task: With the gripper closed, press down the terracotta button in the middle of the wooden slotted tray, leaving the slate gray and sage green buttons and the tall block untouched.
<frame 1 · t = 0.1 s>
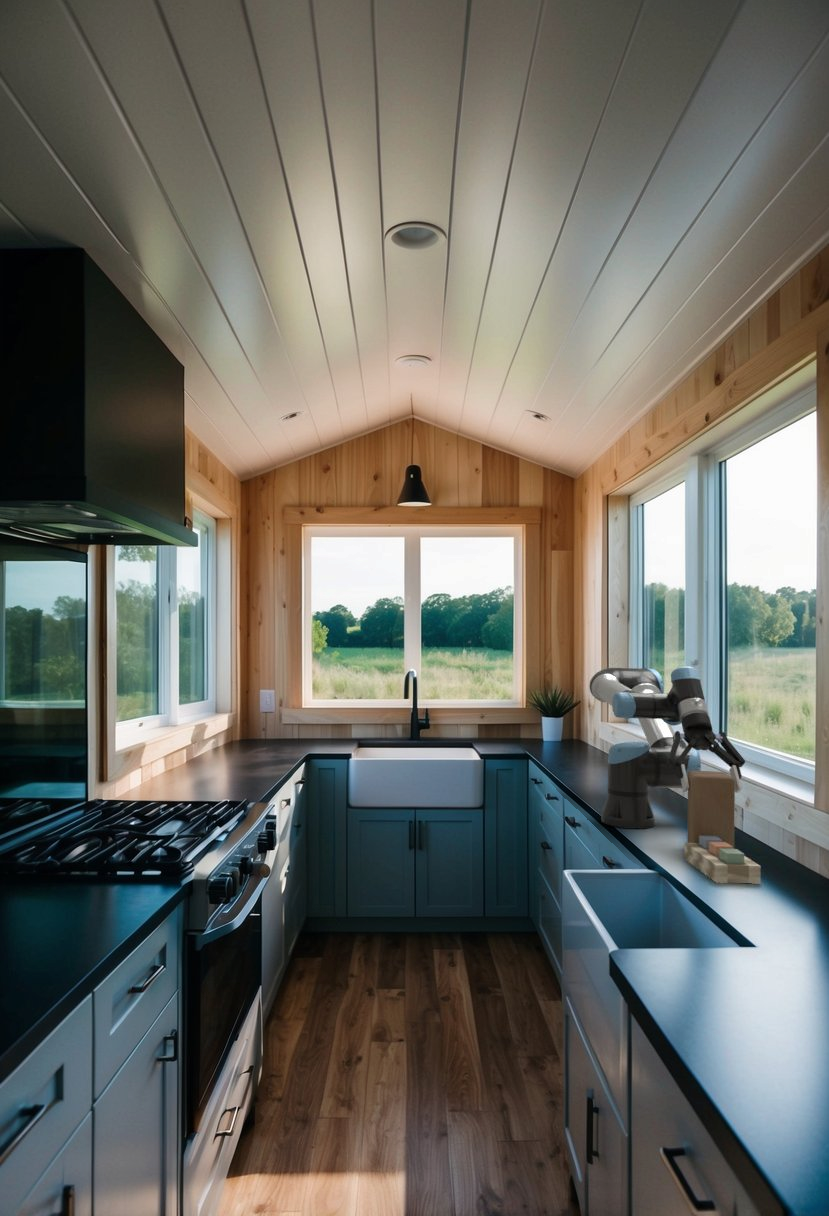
hand: (712, 790, 202), 15 cm above the counter, tool tilted 35°, fingers open, 13 cm apart
green button: (731, 860, 177), point 4 cm above the counter, slide at 0.0 cm
wooden slotted tray: (720, 871, 183), on the counter
block: (710, 853, 199), on the counter
slate gray button: (710, 846, 189), point 4 cm above the counter, slide at 0.0 cm
terracotta button: (720, 852, 183), point 4 cm above the counter, slide at 0.0 cm
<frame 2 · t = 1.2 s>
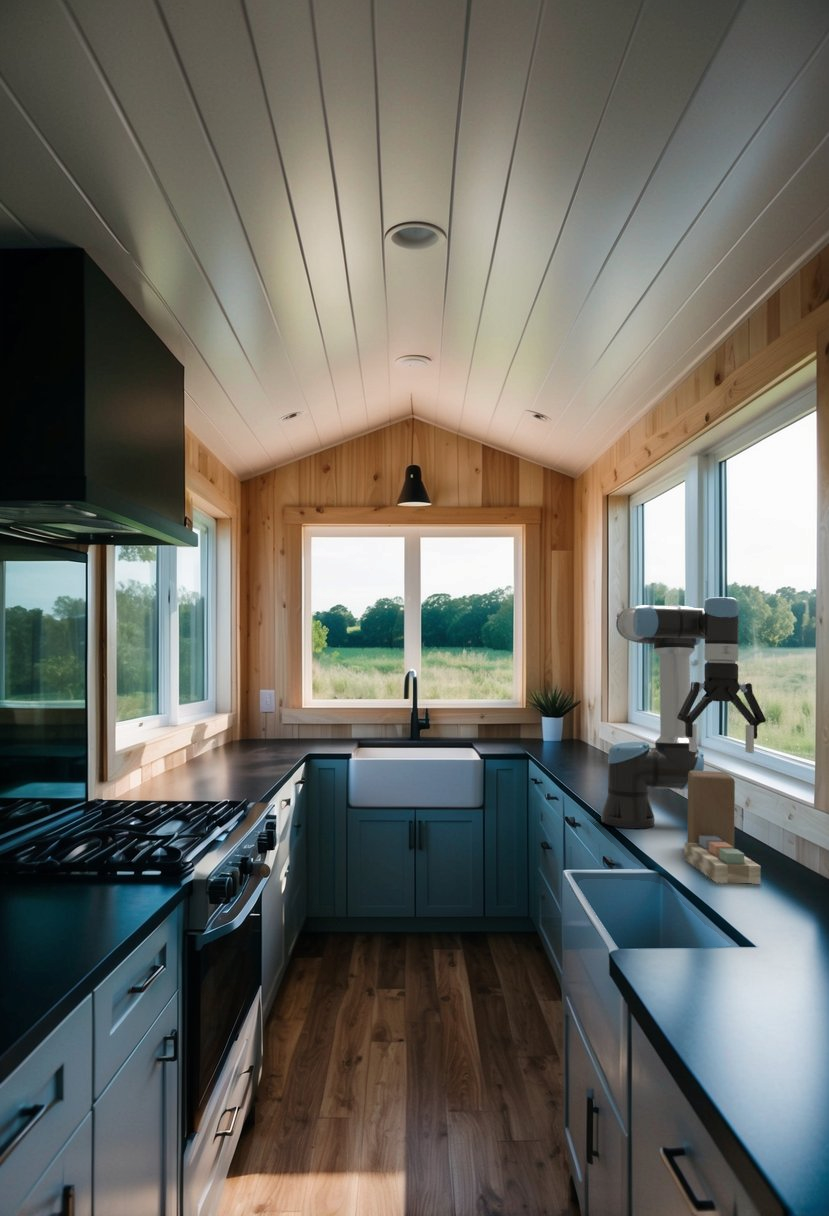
hand: (721, 752, 185), 28 cm above the counter, tool pointing down, fingers open, 13 cm apart
nothing on the counter moved.
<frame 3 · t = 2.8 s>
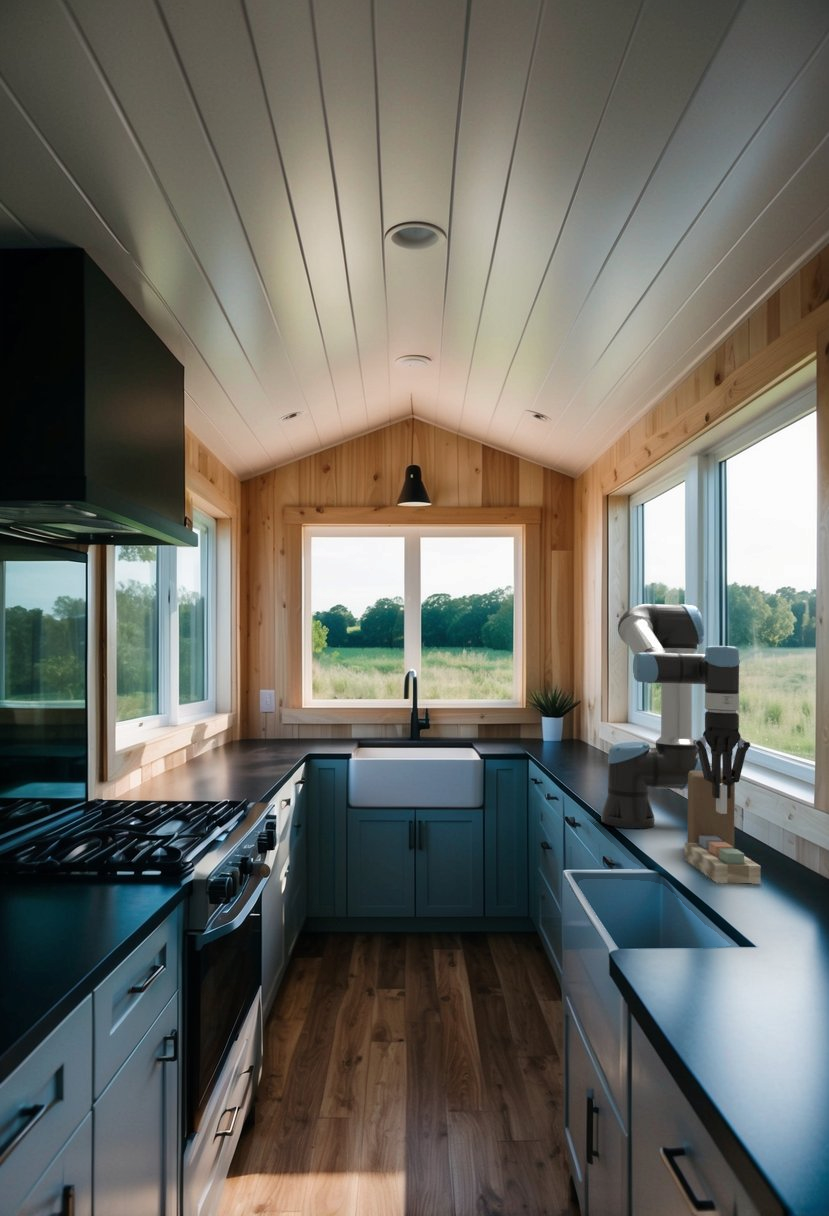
hand: (721, 812, 183), 14 cm above the counter, tool pointing down, fingers closed
nothing on the counter moved.
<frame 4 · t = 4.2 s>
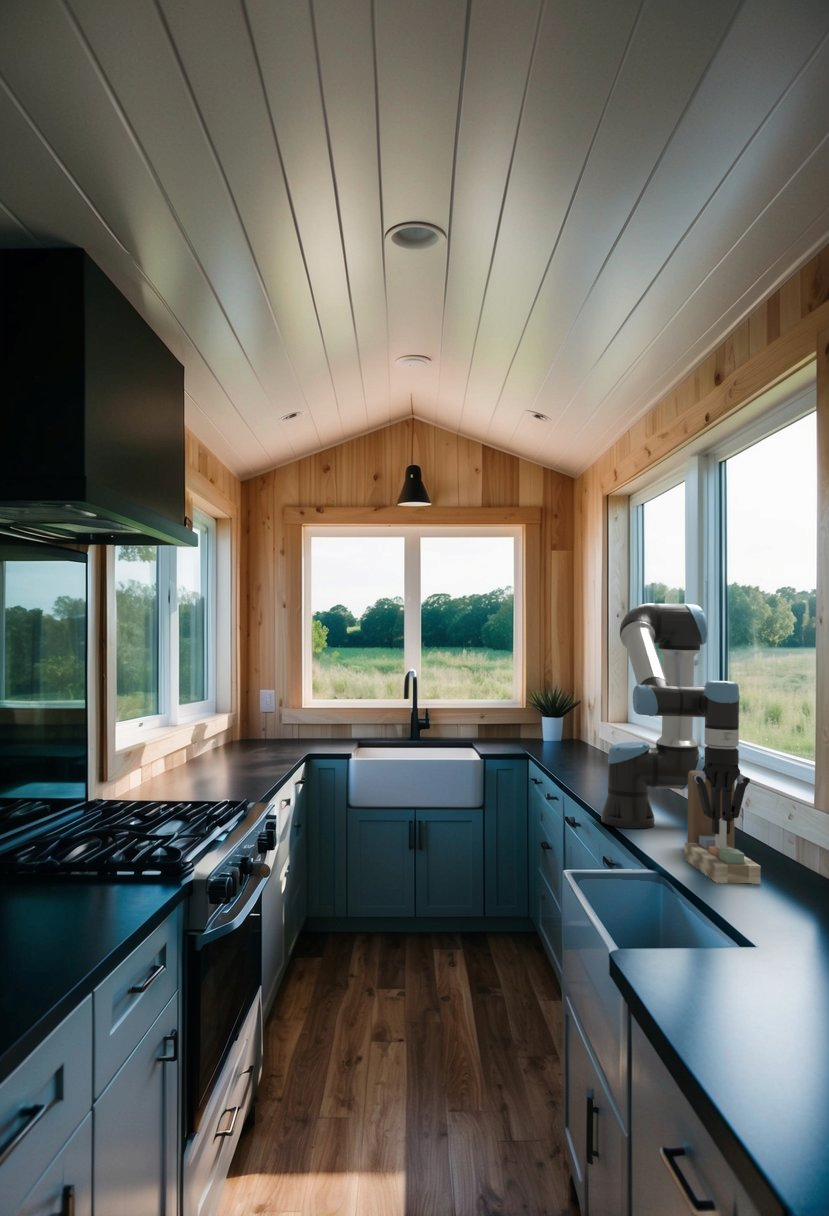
hand: (720, 847, 183), 5 cm above the counter, tool pointing down, fingers closed
terracotta button: (720, 857, 183), point 3 cm above the counter, slide at 1.1 cm, touching gripper
everything else where it was.
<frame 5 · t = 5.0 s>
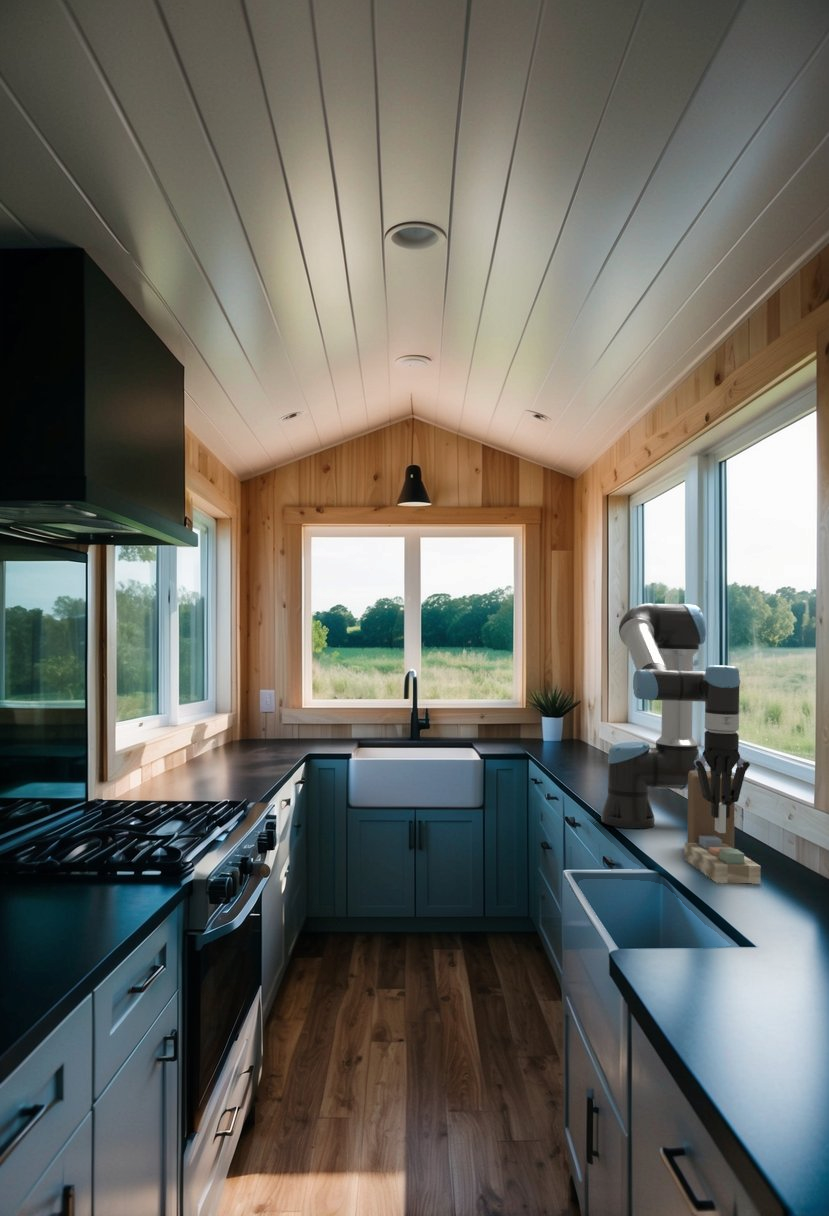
hand: (720, 831, 184), 9 cm above the counter, tool pointing down, fingers closed
terracotta button: (720, 858, 183), point 3 cm above the counter, slide at 1.2 cm
everything else where it was.
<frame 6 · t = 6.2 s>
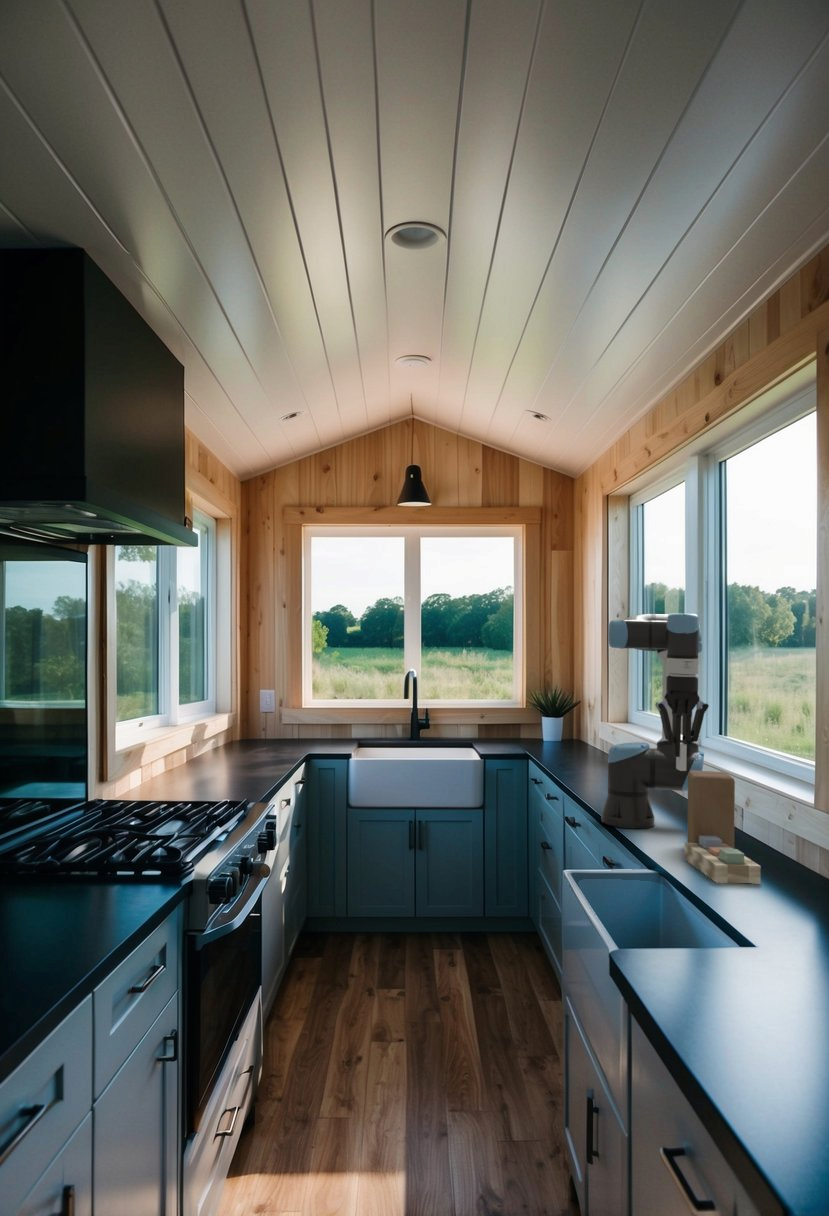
hand: (681, 769, 195), 22 cm above the counter, tool pointing down, fingers closed
nothing on the counter moved.
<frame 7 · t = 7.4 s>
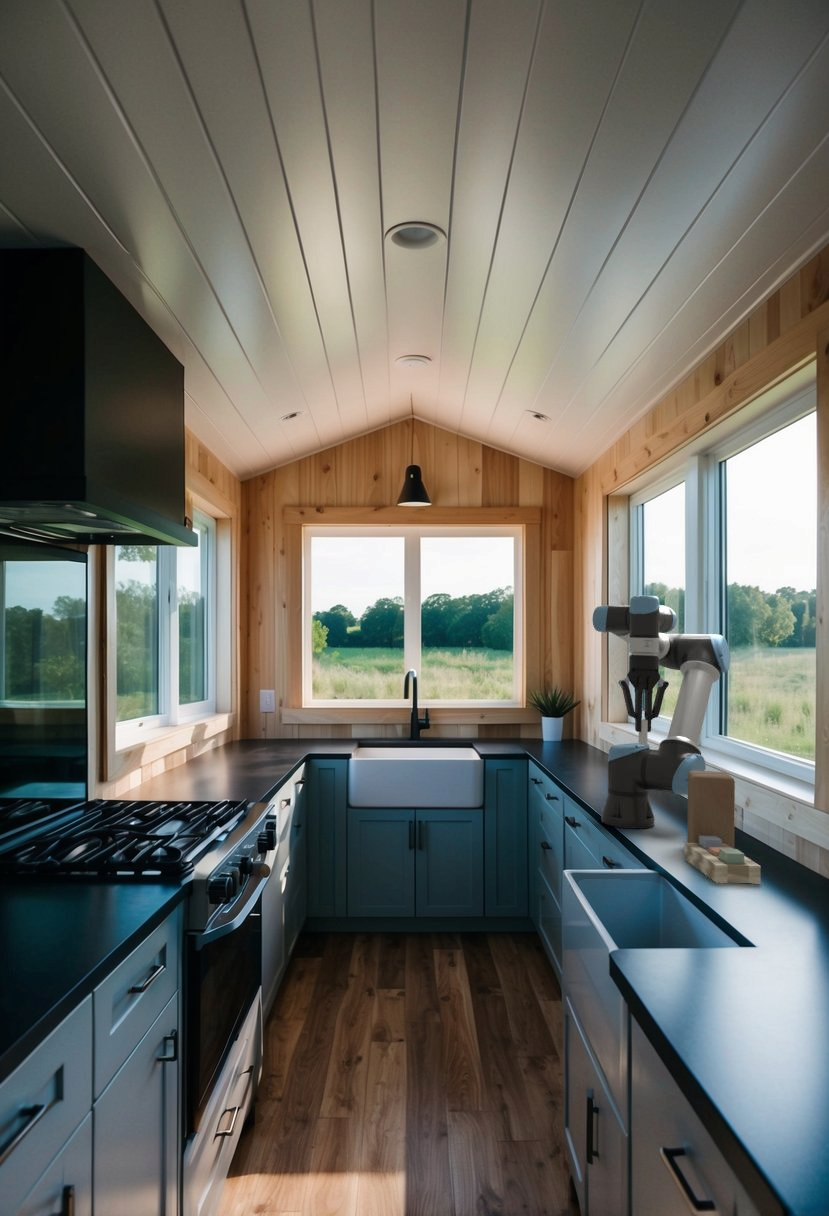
hand: (642, 744, 205), 26 cm above the counter, tool pointing down, fingers closed
nothing on the counter moved.
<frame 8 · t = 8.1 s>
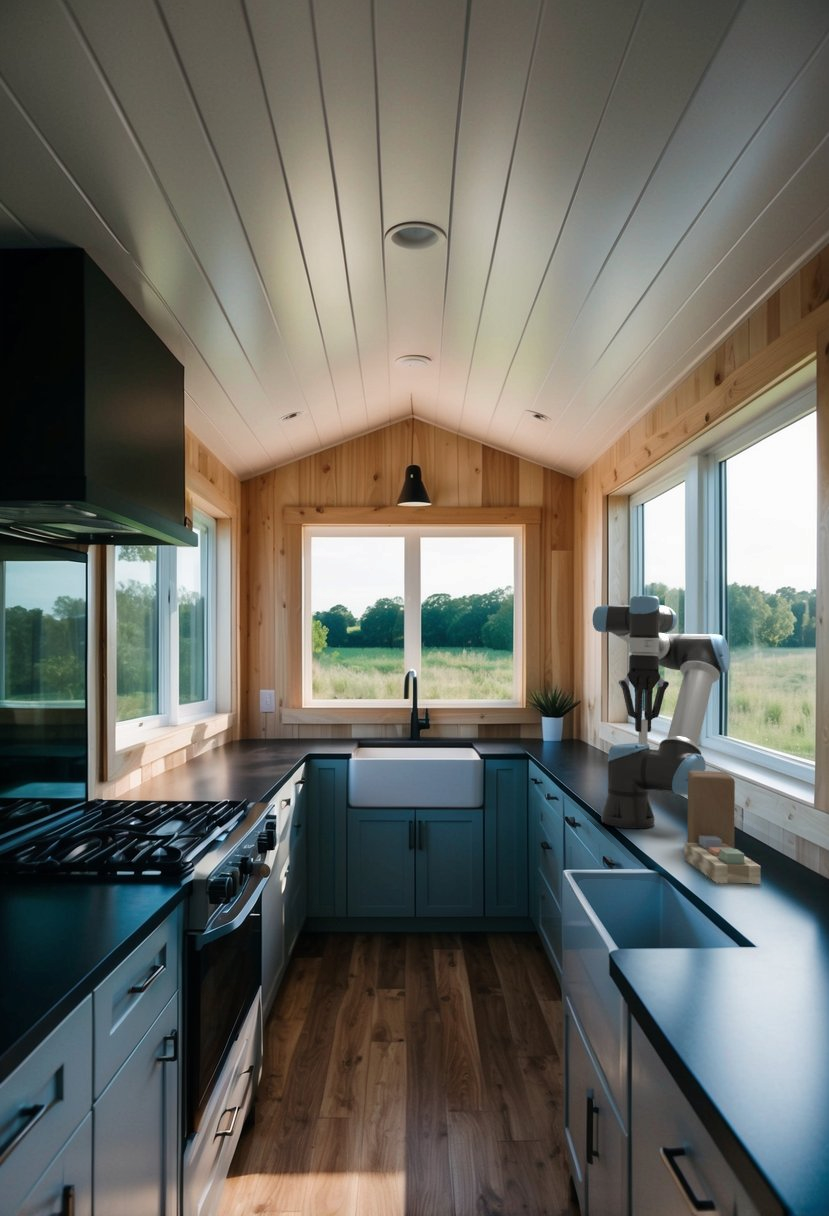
hand: (642, 744, 205), 26 cm above the counter, tool pointing down, fingers closed
nothing on the counter moved.
at the end: terracotta button slide at 1.2 cm; slate gray button slide at 0.0 cm; green button slide at 0.0 cm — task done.
